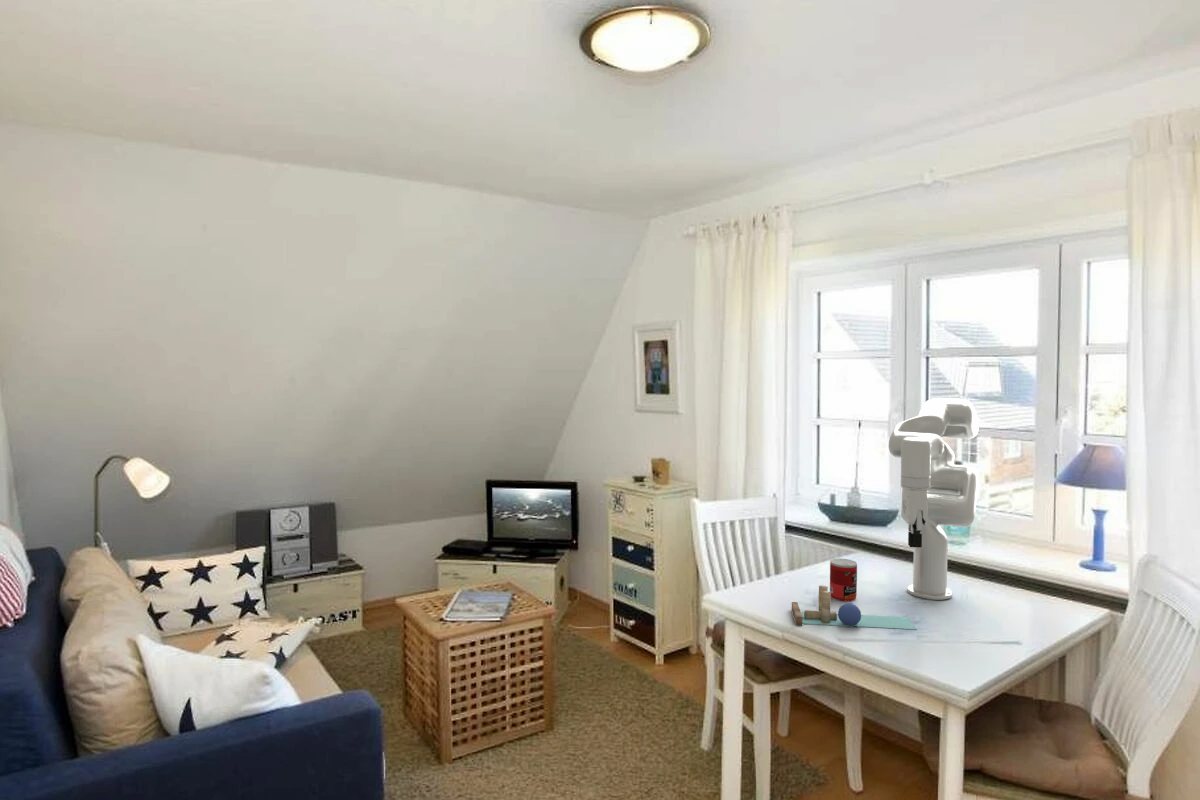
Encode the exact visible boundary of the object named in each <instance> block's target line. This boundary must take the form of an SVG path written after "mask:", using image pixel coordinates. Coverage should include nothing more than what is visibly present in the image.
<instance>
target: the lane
mask: <svg viewBox="0 0 1200 800" xmlns="http://www.w3.org/2000/svg"><path fill="white" fill-rule="evenodd" d="M801 614H802V625H814V624H816V625H817V624H818V625H817V626H833V625H837V626H838V625H840V626H838V627H849V626H848V625H845V624H844V623H842V622H841V621H840V619H839V616H838V613H837V620H830V623H822V622H821V620H820V619H805V617H804V611H801ZM854 626H857V627H856V628H872V627H873V628H875V629H877V628H879V629H892V628H895V629H894V630H896V629H897V630H911V631H912V630H915V631H917V630H918V628H917V627H916V626H915V624H914V623H913V622H912V621H911V619H910V617H909V616H895V615H894V616H891V615H890V616H889V615H876V614H875V615H871V614H861V619H860V621H859V623H857V624H856V625H854Z"/></svg>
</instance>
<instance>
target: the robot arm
mask: <svg viewBox="0 0 1200 800" xmlns="http://www.w3.org/2000/svg"><path fill="white" fill-rule="evenodd" d="M979 423H980V422H979V418H978V415H977V411H976V409H975V407H974V405H973V404H972V402H970V401H969V400H968V399H965V398H945V397H943V398H942V397H941V398H940V397H939V398H938V397H937V398H931V399H928V400H926V402H925V403H924V404H923V405H922V407H921V409H920V411H919V414H918V415H917V416H914V417H912V418H908V419H906V420H904V421H900V422H899V423H898V424H896V425H895V427H894V428H893V430H892V432H891V433H890V436H889V440H888V450H889V453H890V454H891V455H892V456H893V457H895V458H899V459H900V464H901V465H900V487H901V488H902V495H901V514H900V515H901V518H902V519H903V520H904V521H905V523H906V524H907V526H908V531H907V533H908V534H907V541H908V542H907V544H908V546H909V548H913V563H912V564H913V569H912V576H913V579H912V584H909V585H908V586H907V593H909V594H910V595H912V596H915V597H918V598H922V599H925V598H926V599H925V600H933V601H935V600H936V601H942V600H943V601H945V600H949V599H950V598H952V597H953V592H952V591H951V589H949V588H948V587H947V586H948V585H947V583H948V582H947V581H948V546H949V545H948V544H949V540H948V536H947V534H946V533H945V531H944V529H943V528H942V527H941V526H949V527H950V526H951V527H958V528H959V527H960V528H968V527H970V526H971V525H972V524H973V523H974V520H975V515H976V506H977V499H978V497H977V496H978V487H979V477H978V473H977V471H976V470H975V469H974V468H973V467H972V466H969V465H968V466H967V465H959V464H955V463H954V462H955V452H954V451H953V450H952V449H951V446H949V445H948V444H947V443H946V442H945V441H944V440H943V438H944V439H945V438H946V439H948V438H949V439H958V440H959V439H963V440H964V439H965V440H968V439H969V440H970V439H973V438H975V437H976V436H977V435H978V433H979V430H980V429H979V428H980V427H979V426H980V425H979Z"/></svg>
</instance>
